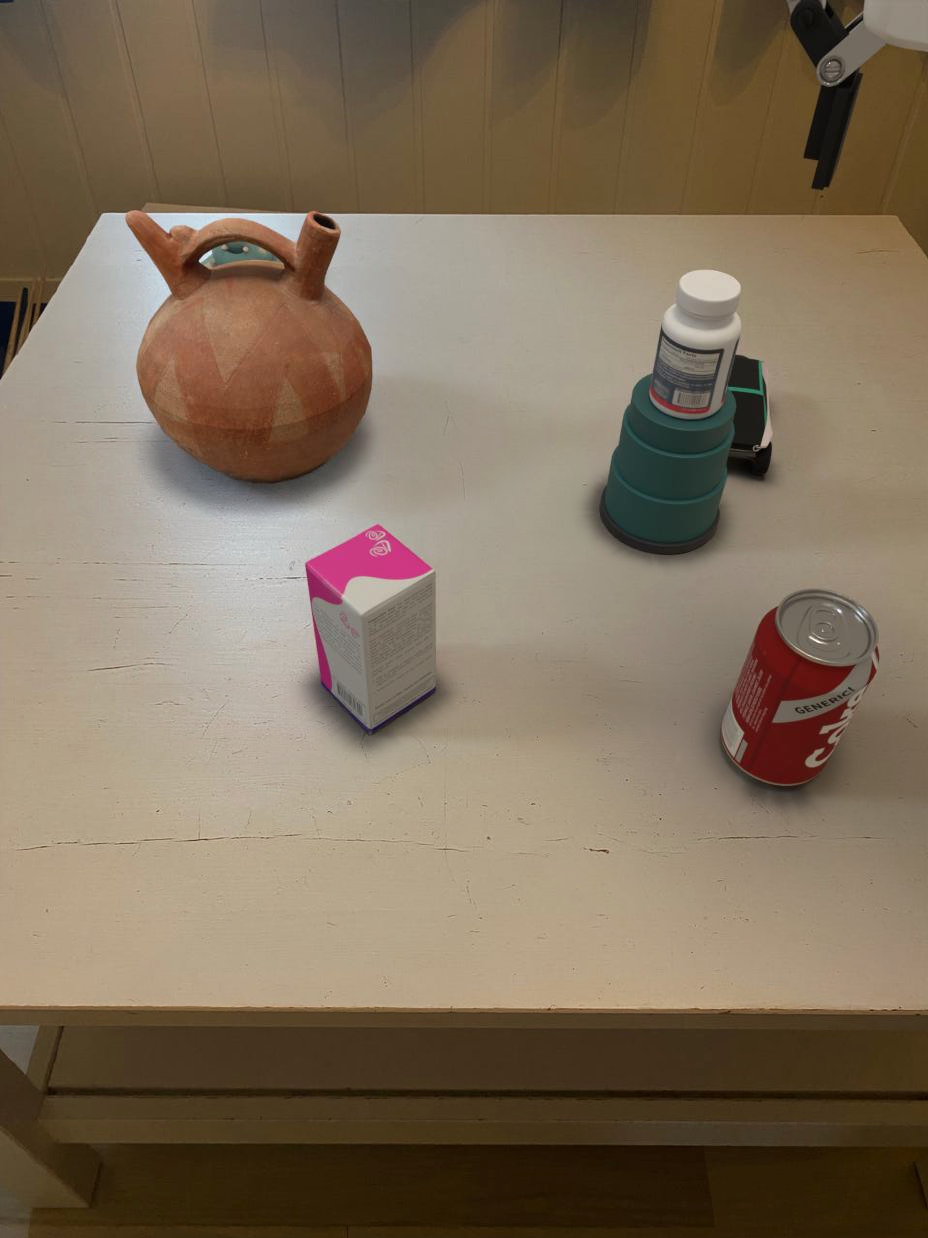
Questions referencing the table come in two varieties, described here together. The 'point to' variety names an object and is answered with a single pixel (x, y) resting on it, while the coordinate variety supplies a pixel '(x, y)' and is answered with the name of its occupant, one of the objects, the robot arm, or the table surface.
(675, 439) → the cup stack
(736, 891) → the table surface
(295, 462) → the jug
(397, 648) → the supplement box
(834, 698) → the soda can
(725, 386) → the pill bottle
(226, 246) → the stuffed animal
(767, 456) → the toy car
